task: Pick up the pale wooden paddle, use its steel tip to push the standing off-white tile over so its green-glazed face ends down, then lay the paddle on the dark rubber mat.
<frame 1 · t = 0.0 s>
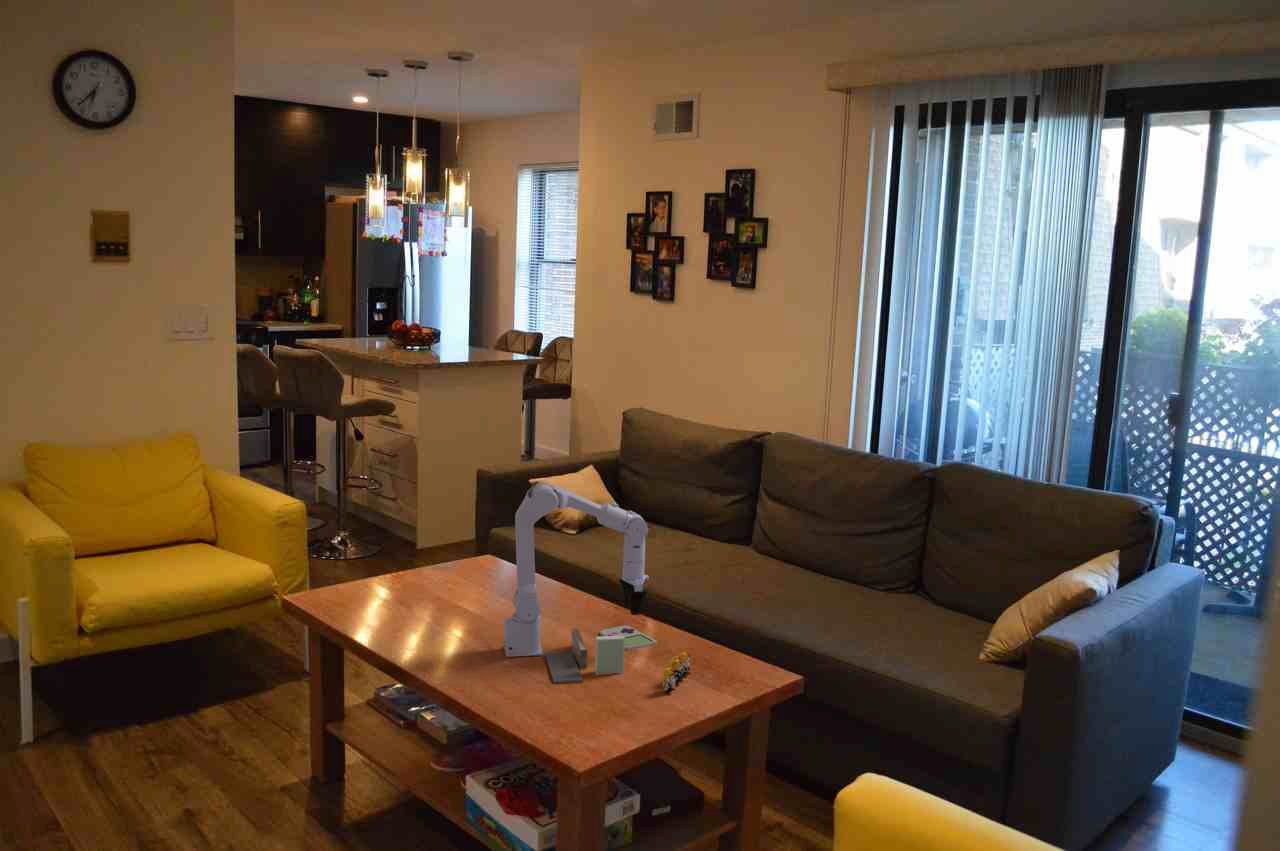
hand: (632, 609, 276), 10 cm above the table, tool pointing down, fingers open, 7 cm apart
figurine set: (676, 684, 253), on the table
rubber mat: (563, 668, 260), on the table
handheld gaming console: (626, 641, 283), on the table
tile: (609, 672, 259), on the table
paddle: (578, 657, 268), on the table
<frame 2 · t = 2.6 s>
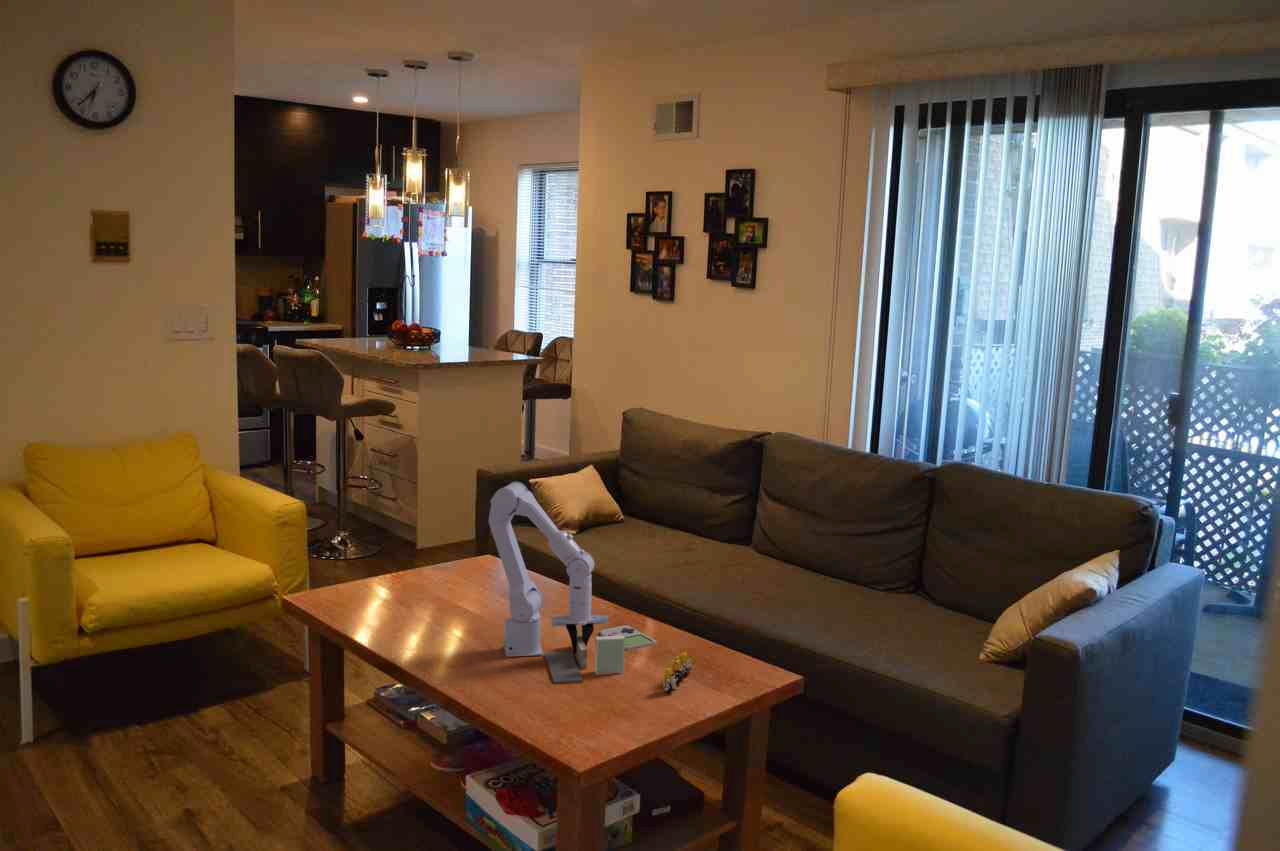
hand: (578, 651, 268), 1 cm above the table, tool pointing down, fingers closed on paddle, 2 cm apart
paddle: (578, 657, 268), on the table, touching gripper
everything else where it was.
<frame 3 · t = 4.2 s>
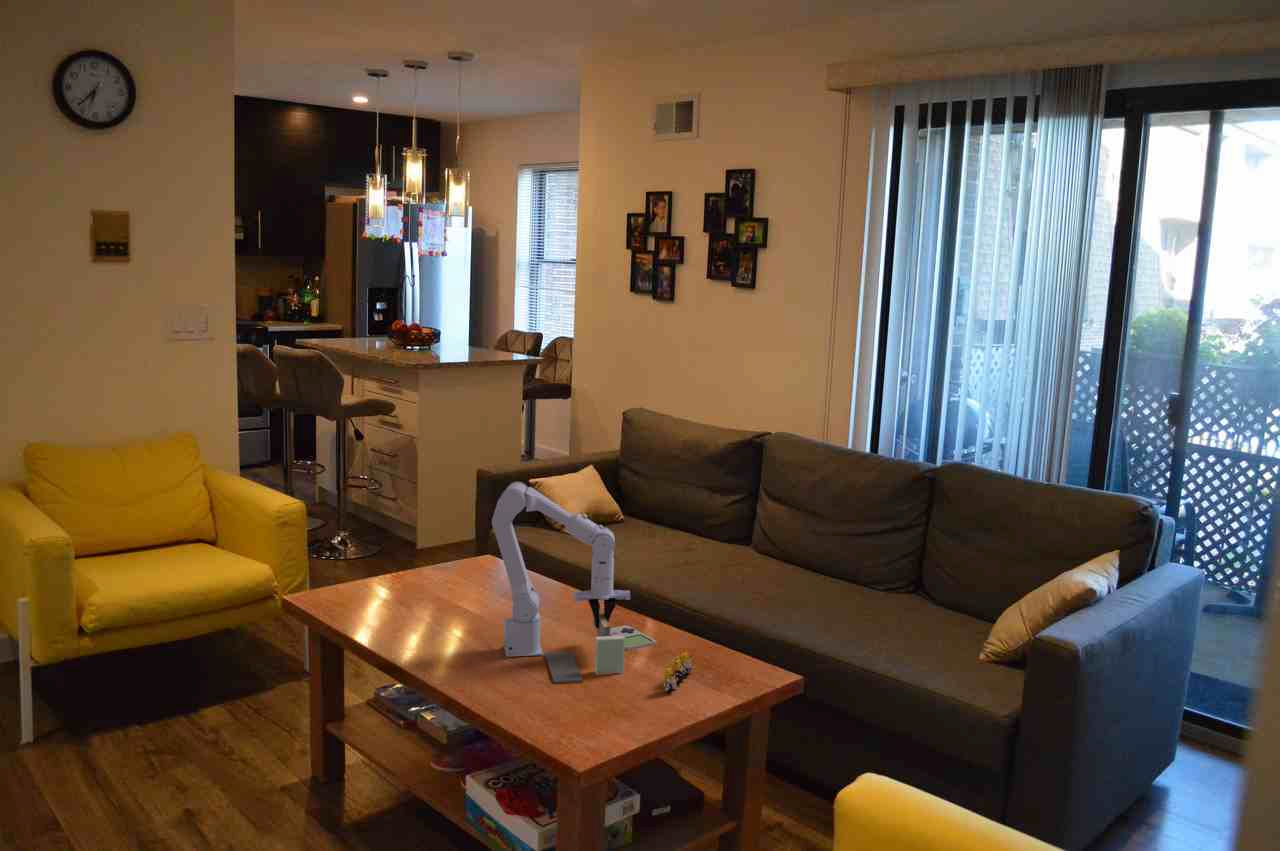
hand: (601, 626, 270), 7 cm above the table, tool pointing down, fingers closed on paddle
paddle: (601, 634, 271), point 5 cm above the table, touching gripper
everything else where it was.
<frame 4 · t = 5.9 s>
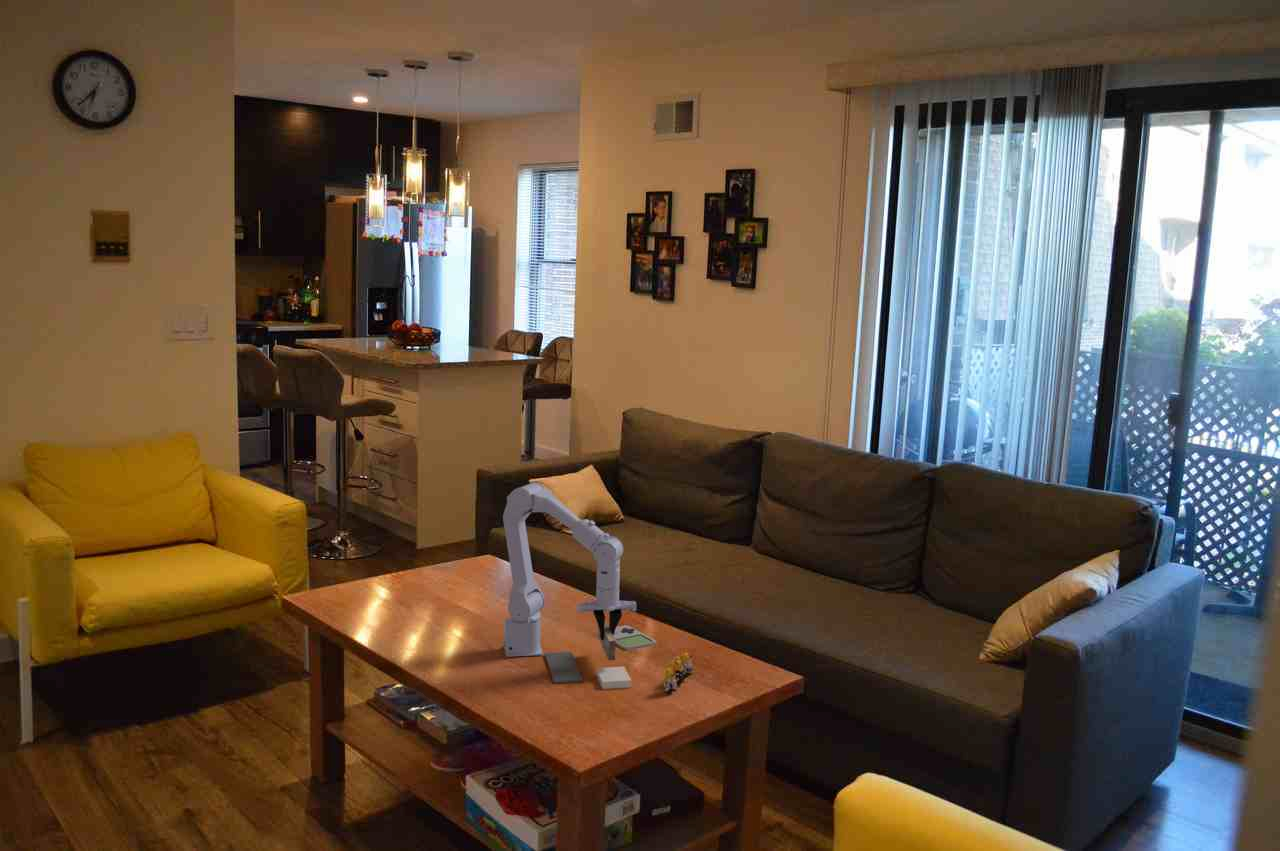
hand: (606, 638, 263), 7 cm above the table, tool pointing down, fingers closed on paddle
tile: (610, 671, 257), point 1 cm above the table, tilted 90°
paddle: (606, 648, 263), point 4 cm above the table, touching gripper
everything else where it was.
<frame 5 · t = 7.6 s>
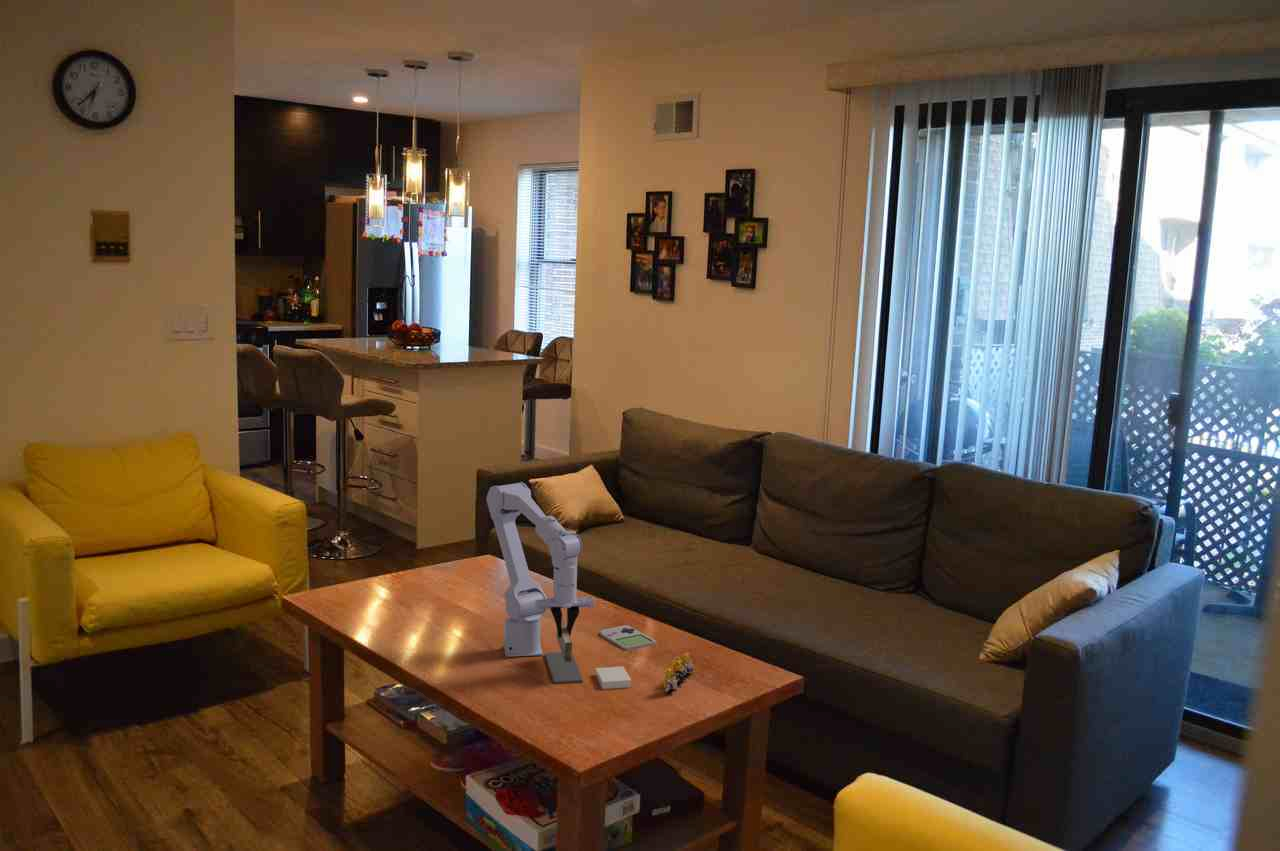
hand: (564, 635, 259), 8 cm above the table, tool pointing down, fingers closed on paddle
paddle: (563, 648, 260), point 5 cm above the table, touching gripper
everything else where it was.
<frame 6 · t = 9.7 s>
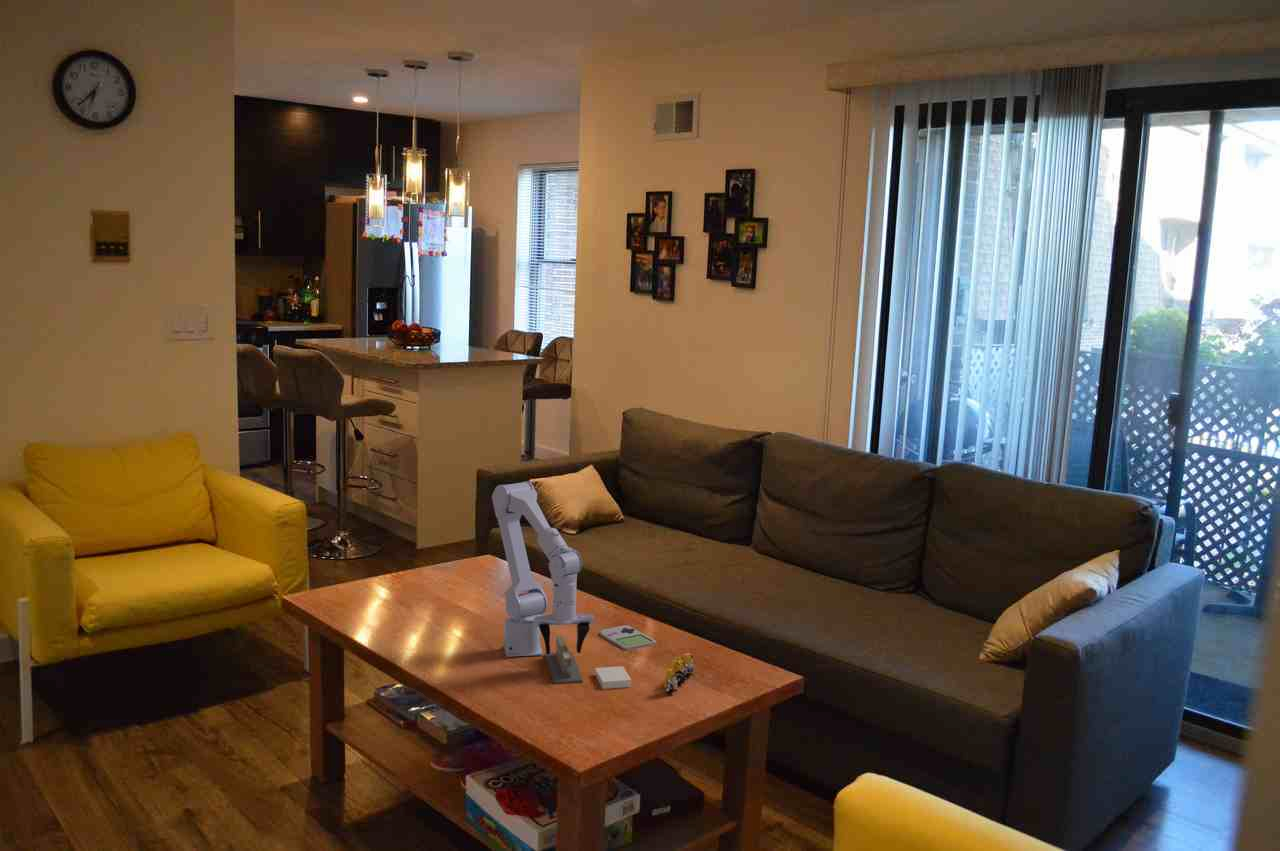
hand: (563, 652, 260), 4 cm above the table, tool pointing down, fingers open, 7 cm apart
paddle: (563, 665, 260), point 1 cm above the table, touching rubber mat
everything else where it was.
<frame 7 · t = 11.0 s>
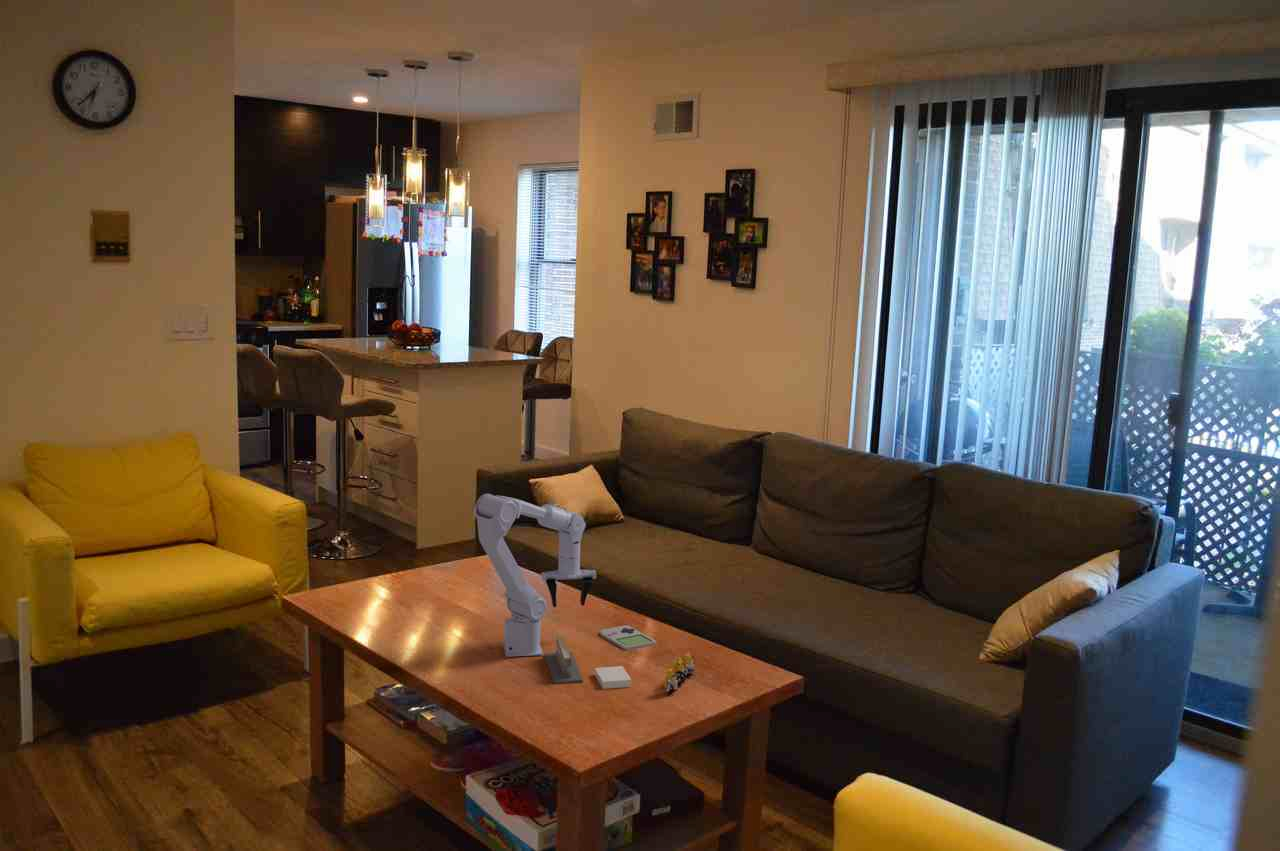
hand: (568, 605, 280), 9 cm above the table, tool pointing down, fingers open, 7 cm apart
nothing on the table moved.
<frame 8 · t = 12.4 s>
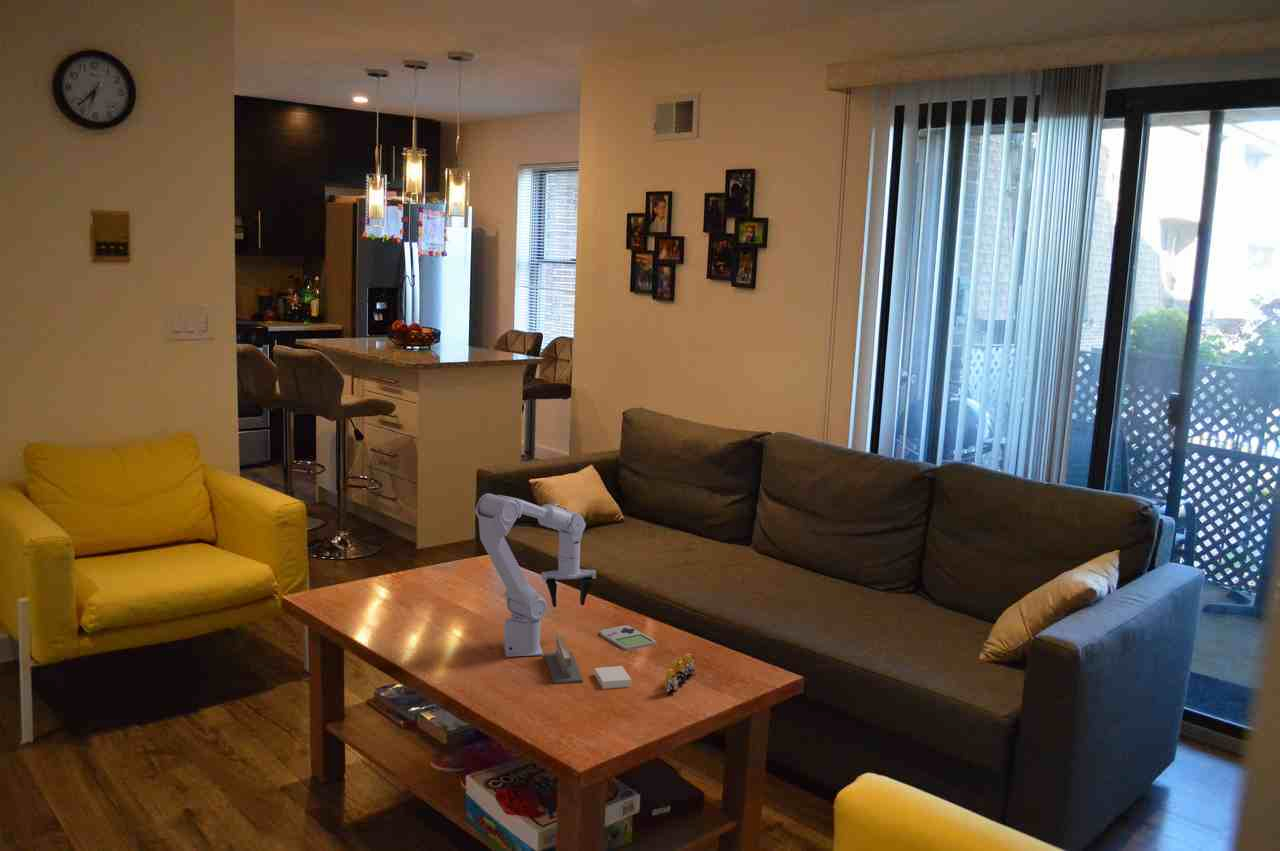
hand: (568, 605, 280), 9 cm above the table, tool pointing down, fingers open, 7 cm apart
at the end: tile tilted 90°; tile inside the target area (2.0 cm from its centre), point 0.7 cm above the table; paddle inside the target area (0.1 cm from its centre), point 0.6 cm above the table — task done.
